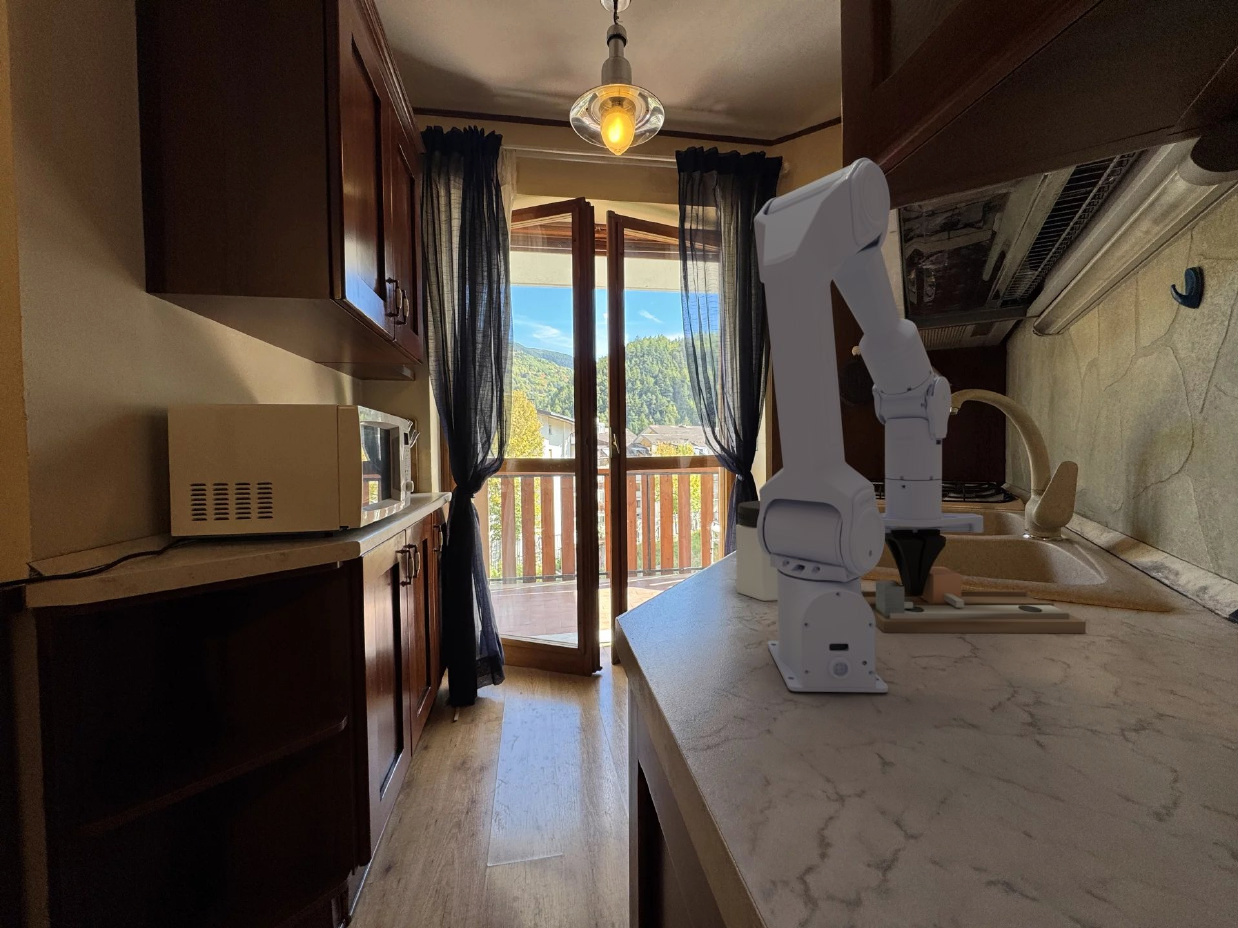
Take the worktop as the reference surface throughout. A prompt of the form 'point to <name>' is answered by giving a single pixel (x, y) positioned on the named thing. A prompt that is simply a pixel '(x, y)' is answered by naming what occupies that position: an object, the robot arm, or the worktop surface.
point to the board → (978, 615)
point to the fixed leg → (890, 598)
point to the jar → (753, 557)
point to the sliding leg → (943, 587)
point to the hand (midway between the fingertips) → (912, 593)
